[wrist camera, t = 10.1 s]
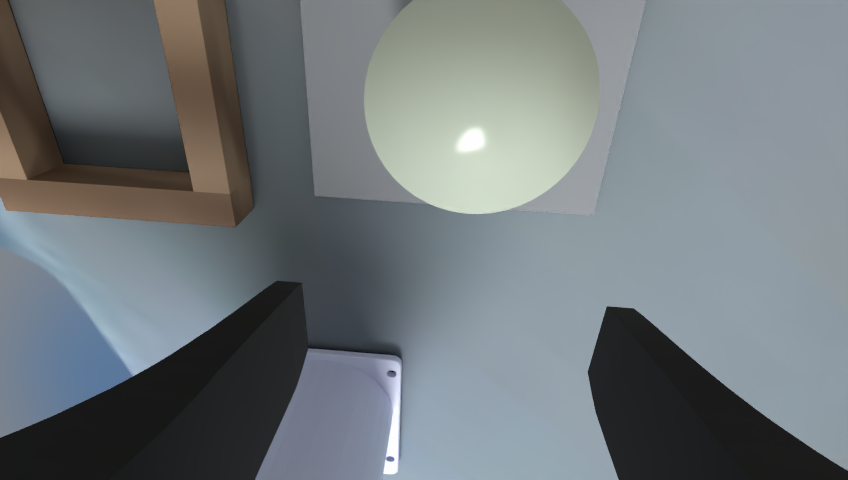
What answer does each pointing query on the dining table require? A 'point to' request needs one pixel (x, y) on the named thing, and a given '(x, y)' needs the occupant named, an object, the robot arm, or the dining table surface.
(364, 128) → the mat
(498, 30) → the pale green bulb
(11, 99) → the frame
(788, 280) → the dining table surface
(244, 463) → the robot arm
